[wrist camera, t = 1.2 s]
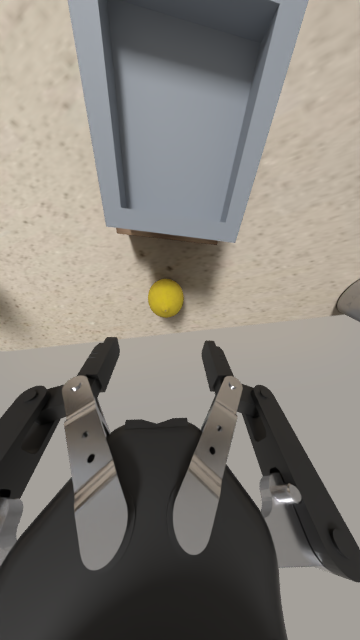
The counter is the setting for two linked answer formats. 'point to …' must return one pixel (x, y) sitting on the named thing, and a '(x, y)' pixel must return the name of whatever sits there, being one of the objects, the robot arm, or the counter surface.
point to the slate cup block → (181, 105)
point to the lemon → (165, 298)
